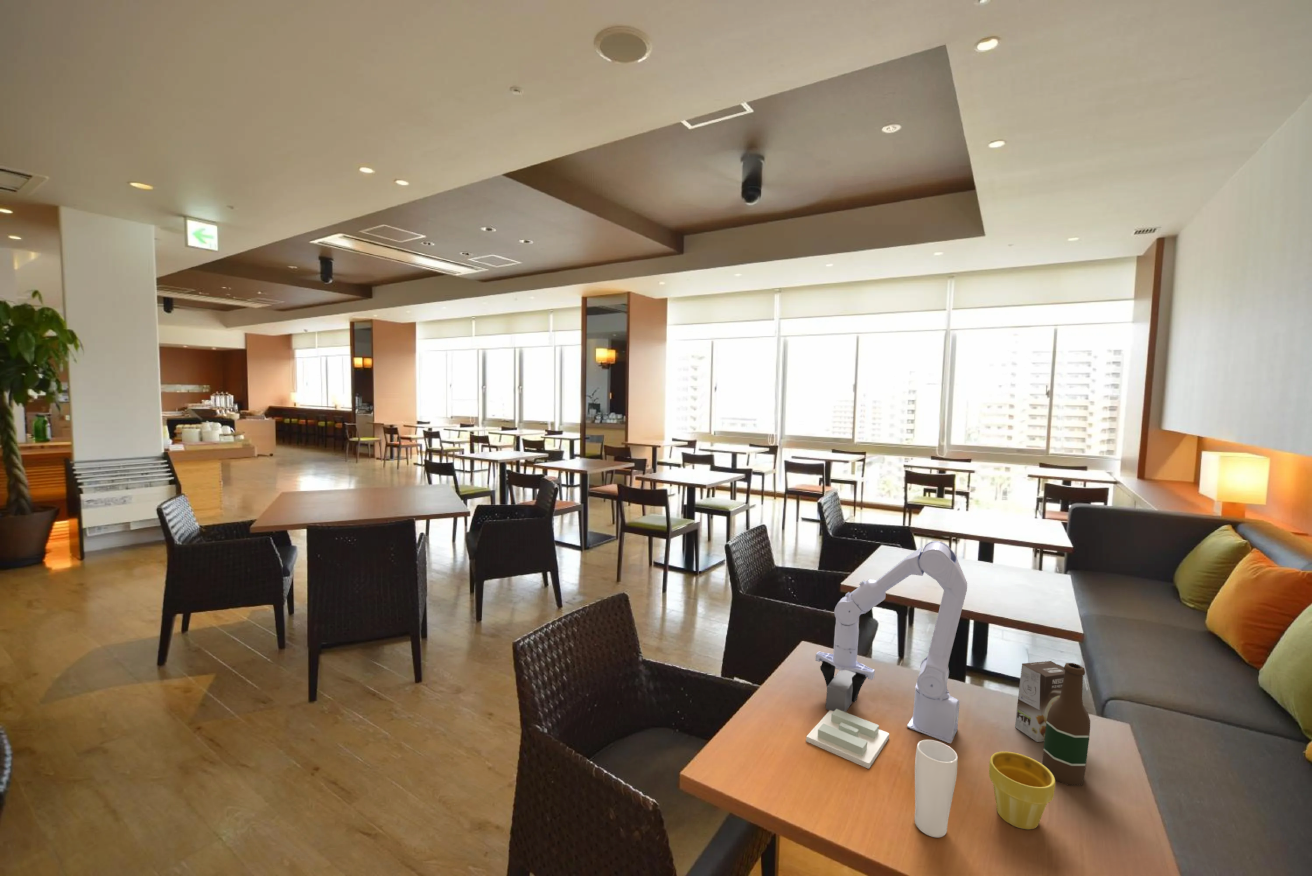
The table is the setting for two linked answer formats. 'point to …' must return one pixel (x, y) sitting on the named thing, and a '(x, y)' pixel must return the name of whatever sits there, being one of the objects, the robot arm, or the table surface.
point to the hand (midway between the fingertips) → (842, 696)
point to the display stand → (849, 737)
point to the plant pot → (1020, 788)
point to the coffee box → (1037, 696)
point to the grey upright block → (840, 691)
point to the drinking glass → (934, 786)
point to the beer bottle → (1068, 730)
